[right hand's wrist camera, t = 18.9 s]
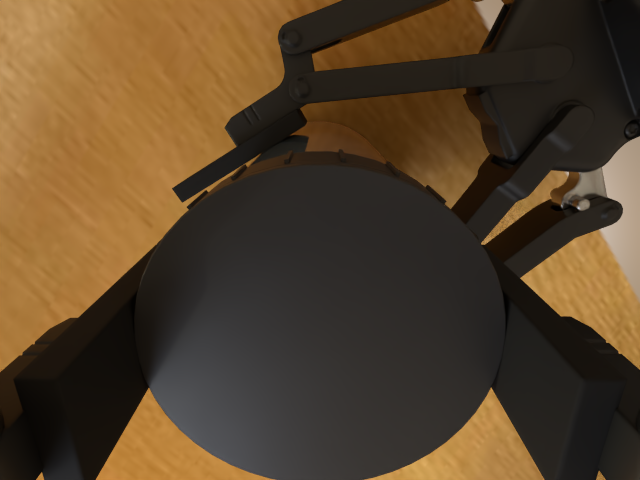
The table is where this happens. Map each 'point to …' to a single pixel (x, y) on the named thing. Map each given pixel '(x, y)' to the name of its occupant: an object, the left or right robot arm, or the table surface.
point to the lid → (319, 319)
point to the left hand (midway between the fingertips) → (242, 265)
